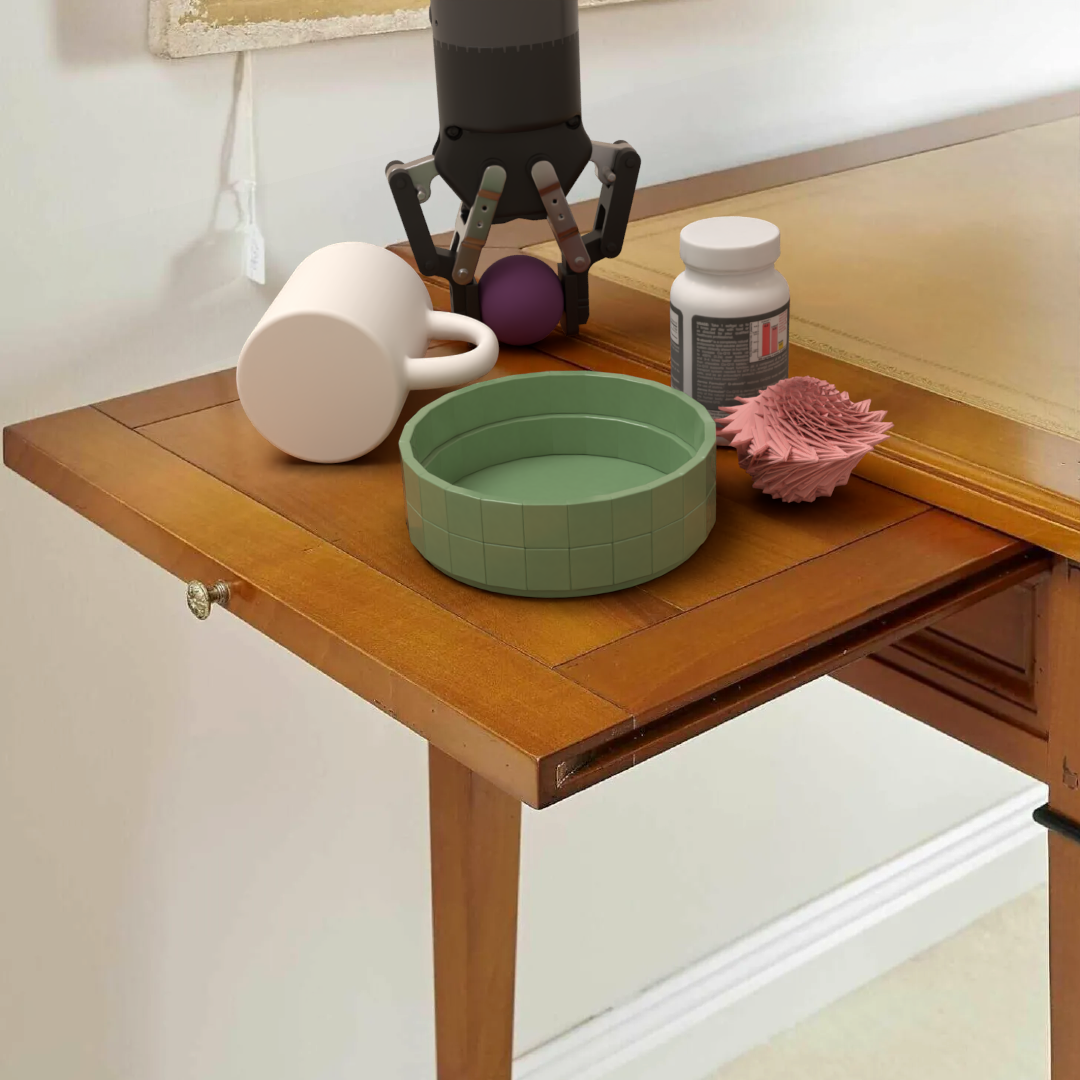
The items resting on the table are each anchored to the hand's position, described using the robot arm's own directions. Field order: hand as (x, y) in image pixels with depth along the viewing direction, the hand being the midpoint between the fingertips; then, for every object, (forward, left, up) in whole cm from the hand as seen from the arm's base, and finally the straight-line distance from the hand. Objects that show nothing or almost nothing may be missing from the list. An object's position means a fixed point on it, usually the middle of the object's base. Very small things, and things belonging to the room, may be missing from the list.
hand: (521, 334), depth 92 cm
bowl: (+2, +22, 0) cm, 22 cm away
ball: (0, 0, 0) cm, 0 cm away
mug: (+9, +9, -1) cm, 12 cm away
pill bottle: (-8, +14, -1) cm, 16 cm away
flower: (-9, +22, -1) cm, 24 cm away
